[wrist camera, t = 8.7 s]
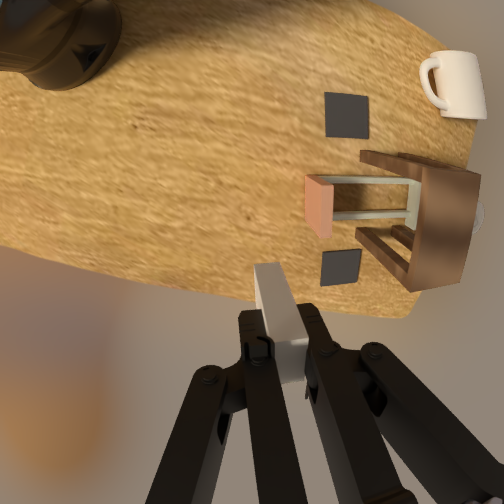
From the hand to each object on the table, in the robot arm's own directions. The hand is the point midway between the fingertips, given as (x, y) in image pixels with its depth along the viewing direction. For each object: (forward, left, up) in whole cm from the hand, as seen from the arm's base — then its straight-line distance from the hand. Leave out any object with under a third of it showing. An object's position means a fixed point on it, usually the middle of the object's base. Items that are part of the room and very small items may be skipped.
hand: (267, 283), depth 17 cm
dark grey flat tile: (+11, +14, -21) cm, 28 cm away
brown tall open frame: (0, +20, -21) cm, 29 cm away
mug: (-18, +30, -22) cm, 41 cm away
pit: (-11, +14, -21) cm, 28 cm away
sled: (0, +21, -21) cm, 29 cm away
